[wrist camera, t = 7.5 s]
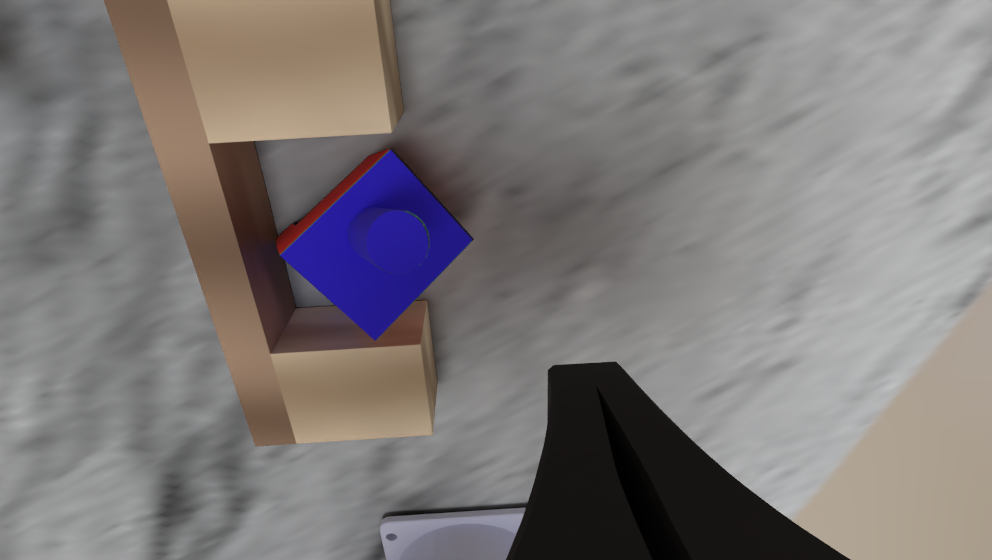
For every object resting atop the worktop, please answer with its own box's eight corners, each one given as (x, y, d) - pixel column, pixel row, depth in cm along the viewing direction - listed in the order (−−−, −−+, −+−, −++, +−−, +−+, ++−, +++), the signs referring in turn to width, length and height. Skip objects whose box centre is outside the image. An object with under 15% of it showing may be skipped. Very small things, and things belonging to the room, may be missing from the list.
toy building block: (426, 228, 21) (512, 247, 14) (348, 307, 20) (396, 370, 13) (360, 158, 20) (417, 138, 13) (273, 240, 19) (281, 269, 12)
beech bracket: (437, 383, 23) (432, 434, 20) (281, 393, 23) (255, 446, 20) (386, -30, 16) (368, -36, 13) (160, -18, 16) (97, -21, 13)
